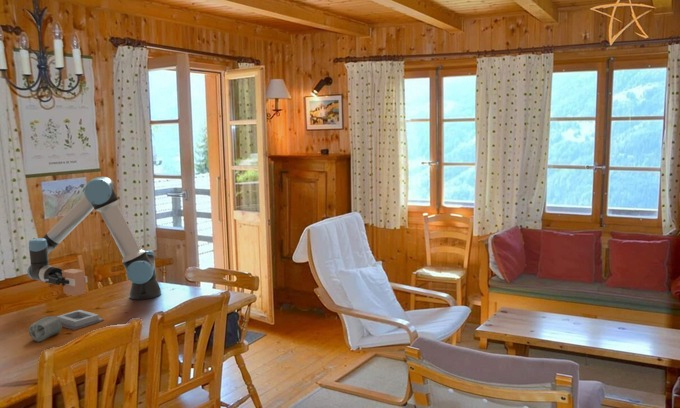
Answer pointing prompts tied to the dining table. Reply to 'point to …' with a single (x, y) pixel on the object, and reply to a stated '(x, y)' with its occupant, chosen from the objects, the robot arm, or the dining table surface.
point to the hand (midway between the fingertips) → (80, 281)
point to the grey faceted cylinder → (45, 328)
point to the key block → (79, 282)
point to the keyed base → (78, 319)
